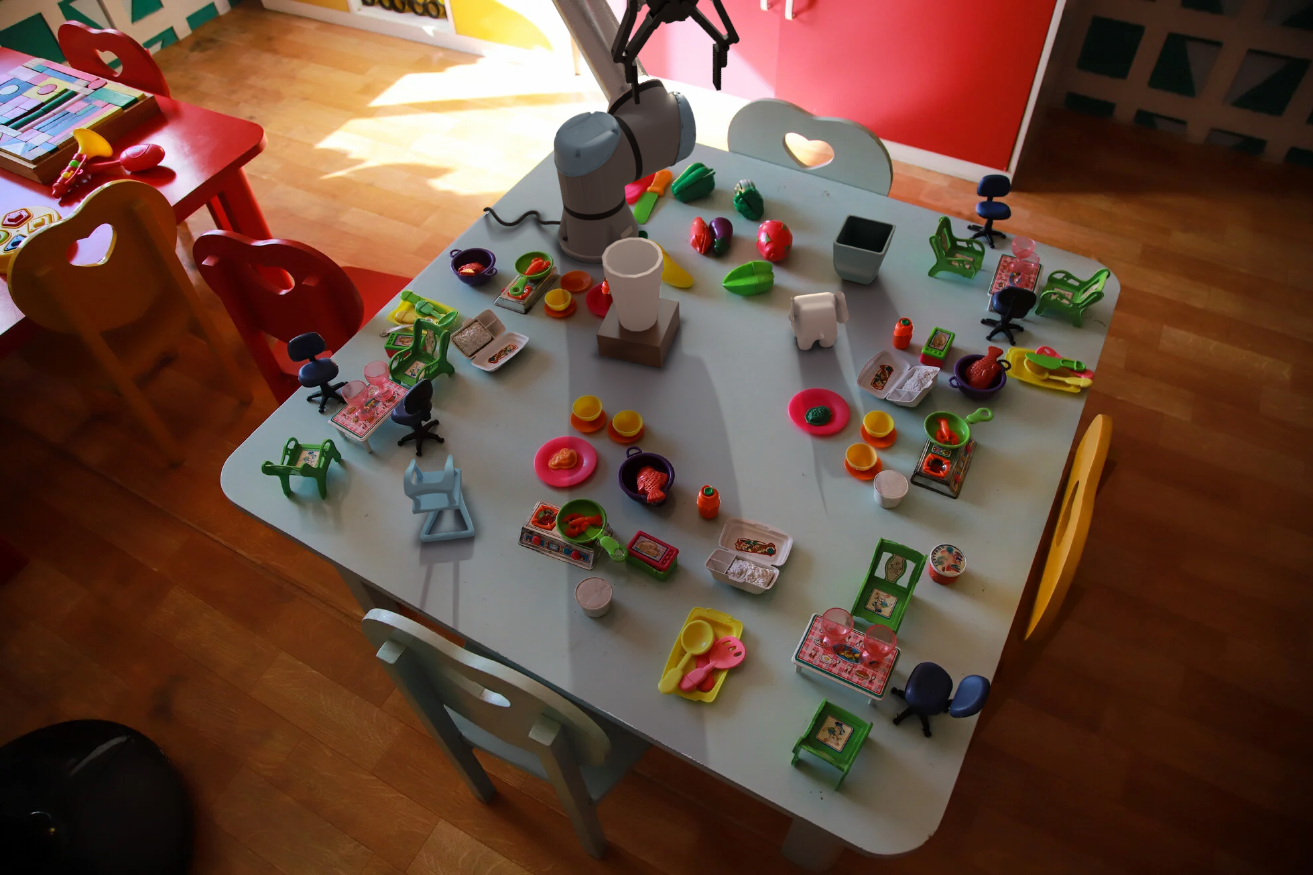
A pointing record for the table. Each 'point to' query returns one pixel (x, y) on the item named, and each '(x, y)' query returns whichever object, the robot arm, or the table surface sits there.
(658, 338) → the block
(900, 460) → the table surface
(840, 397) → the table surface
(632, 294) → the foam cup
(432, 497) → the chair
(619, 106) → the robot arm
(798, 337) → the elephant figurine
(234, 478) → the table surface
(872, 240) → the flower pot
